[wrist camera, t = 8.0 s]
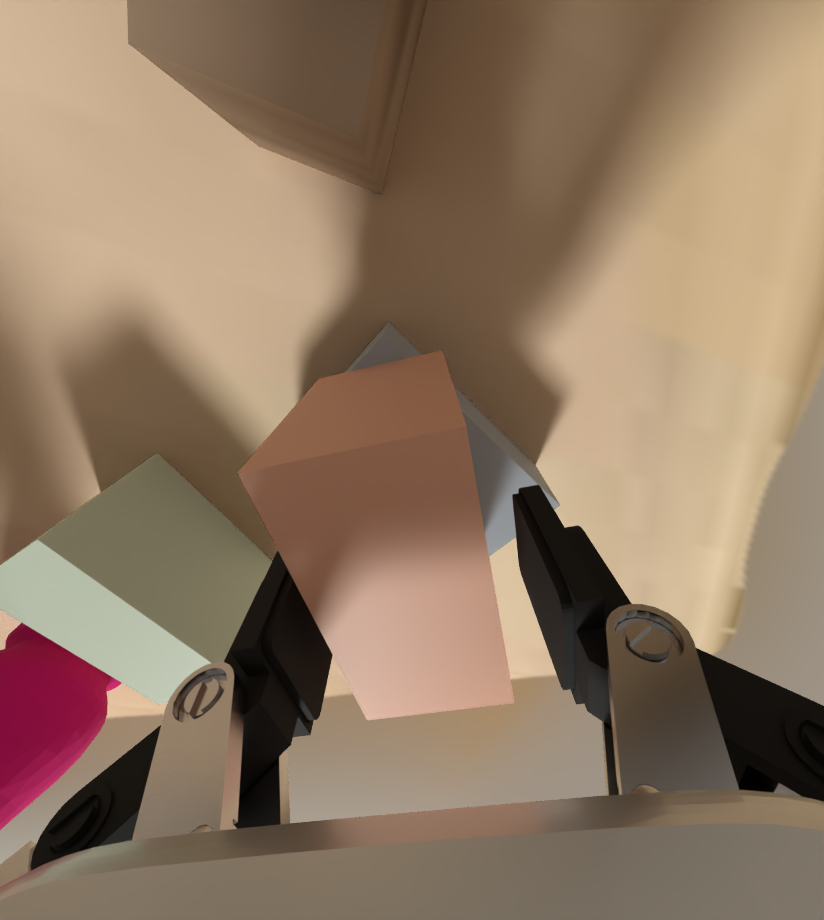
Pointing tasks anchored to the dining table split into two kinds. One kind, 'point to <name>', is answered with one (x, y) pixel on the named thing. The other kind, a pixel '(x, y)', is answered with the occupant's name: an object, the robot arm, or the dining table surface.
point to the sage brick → (139, 581)
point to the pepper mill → (44, 715)
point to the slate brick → (474, 448)
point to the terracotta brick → (387, 536)
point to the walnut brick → (293, 72)
